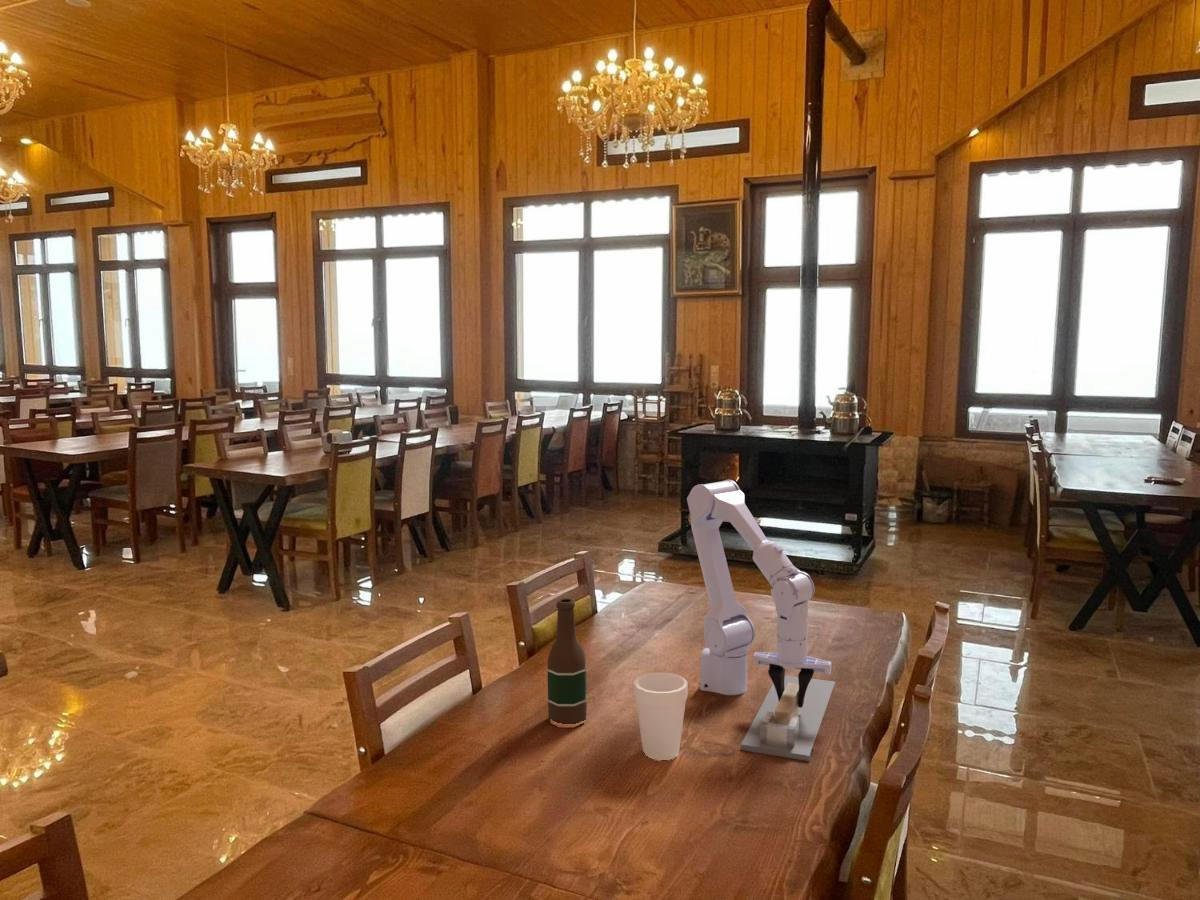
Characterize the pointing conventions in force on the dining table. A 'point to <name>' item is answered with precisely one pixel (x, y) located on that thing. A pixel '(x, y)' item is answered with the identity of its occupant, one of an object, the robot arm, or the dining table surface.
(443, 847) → the dining table surface
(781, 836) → the dining table surface
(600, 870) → the dining table surface
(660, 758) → the foam cup
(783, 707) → the birch slat
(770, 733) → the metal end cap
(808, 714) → the assembly board
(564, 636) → the beer bottle
